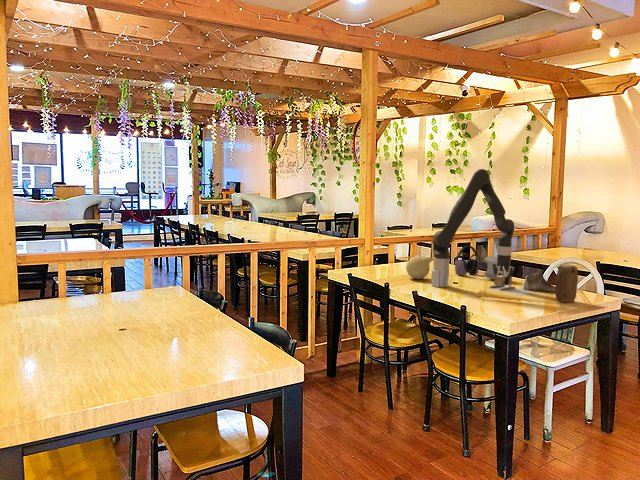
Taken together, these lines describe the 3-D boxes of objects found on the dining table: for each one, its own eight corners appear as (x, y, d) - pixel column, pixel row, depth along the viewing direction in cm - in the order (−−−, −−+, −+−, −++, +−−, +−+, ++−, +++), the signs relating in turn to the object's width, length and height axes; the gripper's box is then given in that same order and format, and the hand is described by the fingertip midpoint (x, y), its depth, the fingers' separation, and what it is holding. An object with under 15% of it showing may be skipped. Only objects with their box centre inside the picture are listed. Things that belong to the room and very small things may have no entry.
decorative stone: (501, 283, 325) (502, 259, 323) (481, 279, 340) (482, 256, 338) (515, 282, 330) (516, 258, 329) (494, 277, 345) (495, 255, 344)
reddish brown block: (501, 286, 298) (501, 277, 297) (494, 284, 302) (494, 275, 302) (511, 284, 303) (512, 275, 302) (504, 283, 307) (504, 274, 306)
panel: (516, 298, 285) (517, 291, 284) (485, 290, 303) (485, 284, 303) (535, 295, 293) (536, 288, 292) (503, 288, 311) (504, 282, 311)
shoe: (571, 295, 295) (573, 273, 293) (568, 298, 286) (569, 276, 284) (525, 289, 309) (526, 269, 307) (520, 292, 300) (521, 271, 298)
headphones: (480, 275, 354) (482, 245, 352) (462, 277, 346) (463, 247, 343) (470, 272, 362) (471, 244, 360) (452, 274, 354) (453, 245, 352)
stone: (564, 304, 271) (567, 266, 269) (552, 301, 277) (554, 264, 275) (578, 301, 278) (580, 264, 275) (565, 299, 283) (568, 262, 281)
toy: (434, 280, 332) (435, 257, 330) (414, 282, 326) (415, 258, 325) (420, 276, 347) (421, 253, 346) (400, 277, 342) (401, 254, 340)
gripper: (519, 255, 296) (517, 284, 298) (498, 252, 309) (497, 280, 310) (510, 256, 292) (508, 286, 294) (489, 252, 305) (488, 281, 307)
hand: (502, 283), depth 302 cm, fingers closed on reddish brown block, 5 cm apart
